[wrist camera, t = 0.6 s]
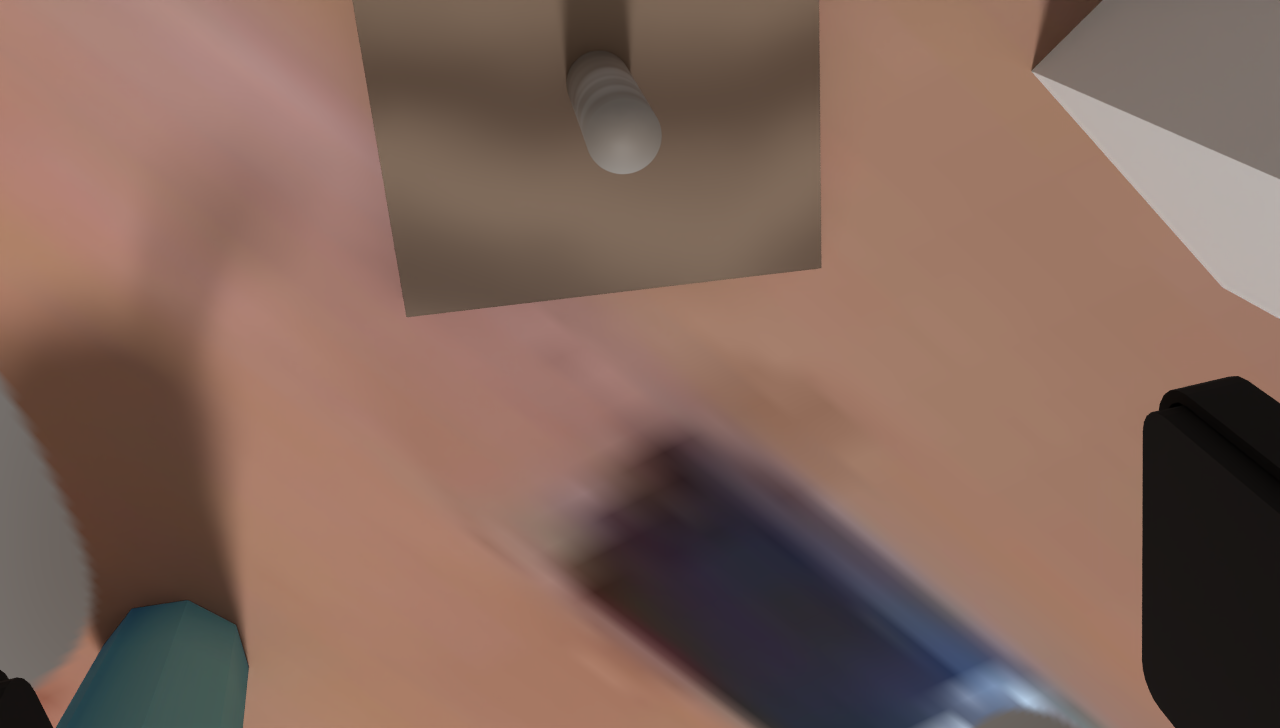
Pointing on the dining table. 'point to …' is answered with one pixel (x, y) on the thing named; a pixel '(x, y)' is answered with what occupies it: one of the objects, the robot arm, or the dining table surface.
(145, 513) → the dining table surface
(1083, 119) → the milk
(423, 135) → the post base
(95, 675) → the cup
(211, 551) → the dining table surface
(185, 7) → the dining table surface
